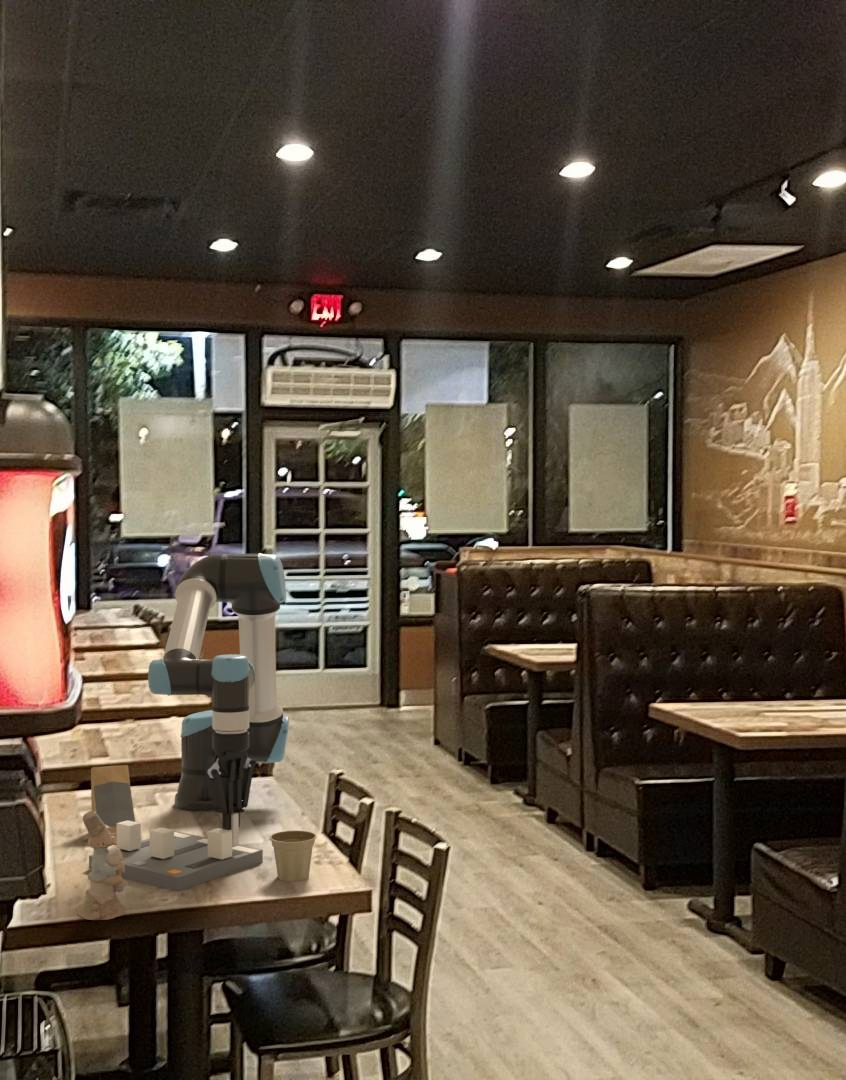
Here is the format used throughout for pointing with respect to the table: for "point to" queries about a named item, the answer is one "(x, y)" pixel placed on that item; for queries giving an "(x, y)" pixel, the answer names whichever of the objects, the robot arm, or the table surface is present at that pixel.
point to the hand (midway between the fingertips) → (231, 844)
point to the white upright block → (219, 843)
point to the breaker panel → (184, 863)
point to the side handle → (129, 835)
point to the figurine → (103, 873)
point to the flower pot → (293, 854)
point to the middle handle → (161, 843)
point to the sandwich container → (112, 795)
